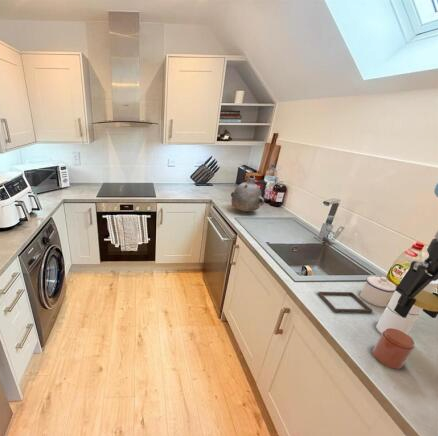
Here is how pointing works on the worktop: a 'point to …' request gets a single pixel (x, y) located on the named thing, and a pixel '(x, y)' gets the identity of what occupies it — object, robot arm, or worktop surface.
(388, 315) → the cylindrical container
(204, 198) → the worktop surface
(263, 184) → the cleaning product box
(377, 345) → the jar
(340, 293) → the dark rectangular frame
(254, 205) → the jug
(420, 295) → the jar lid
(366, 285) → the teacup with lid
